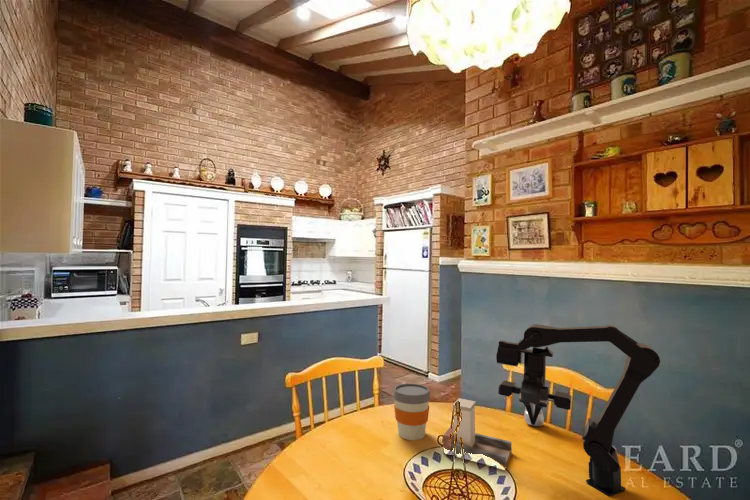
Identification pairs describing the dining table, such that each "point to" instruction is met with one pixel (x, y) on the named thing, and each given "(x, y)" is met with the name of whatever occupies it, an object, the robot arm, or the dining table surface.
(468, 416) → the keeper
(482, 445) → the track
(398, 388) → the reusable coffee cup
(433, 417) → the dining table surface
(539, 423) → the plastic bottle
